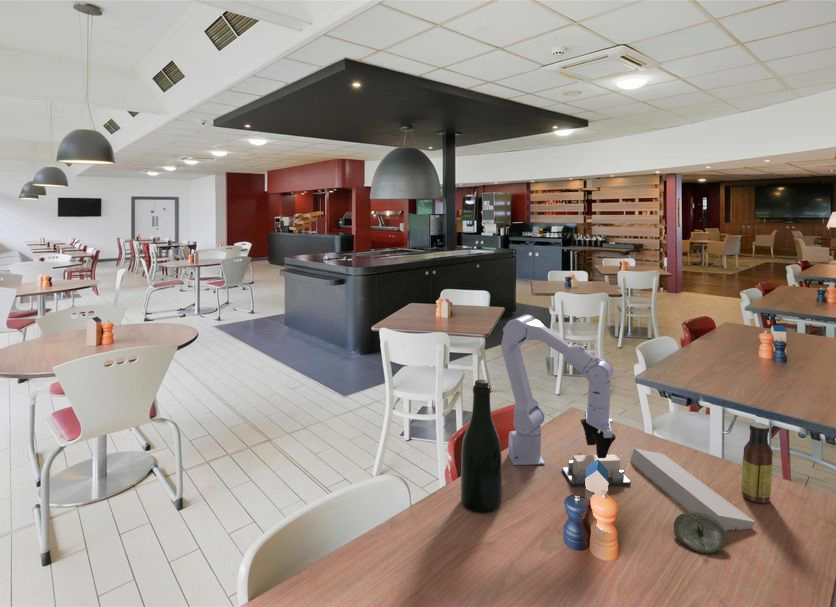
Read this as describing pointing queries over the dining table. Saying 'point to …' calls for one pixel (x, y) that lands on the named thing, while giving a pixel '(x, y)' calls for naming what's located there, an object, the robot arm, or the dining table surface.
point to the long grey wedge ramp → (689, 490)
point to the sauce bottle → (757, 465)
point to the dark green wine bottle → (481, 456)
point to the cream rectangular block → (585, 460)
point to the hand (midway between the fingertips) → (596, 451)
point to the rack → (579, 480)
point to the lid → (700, 532)
